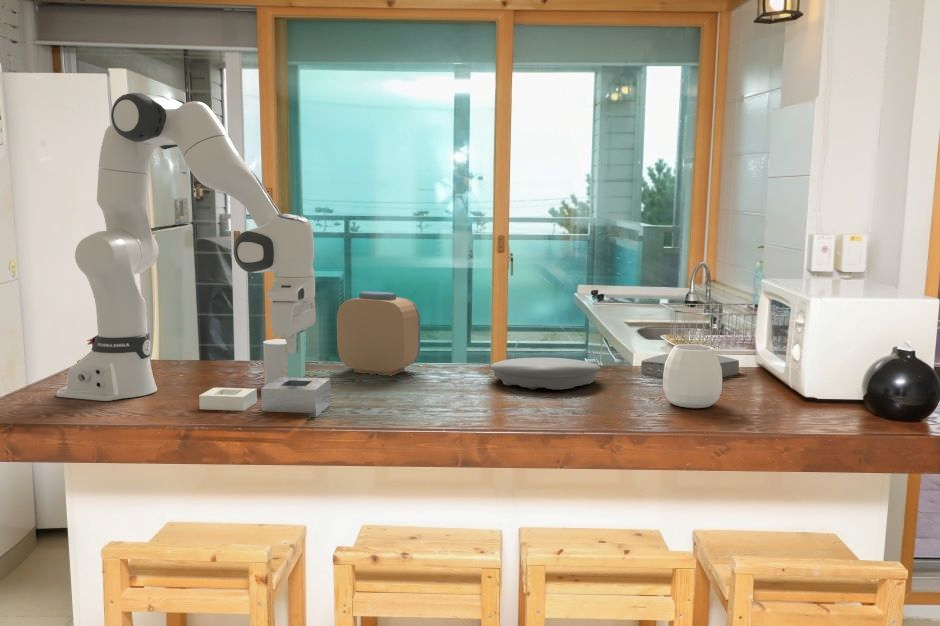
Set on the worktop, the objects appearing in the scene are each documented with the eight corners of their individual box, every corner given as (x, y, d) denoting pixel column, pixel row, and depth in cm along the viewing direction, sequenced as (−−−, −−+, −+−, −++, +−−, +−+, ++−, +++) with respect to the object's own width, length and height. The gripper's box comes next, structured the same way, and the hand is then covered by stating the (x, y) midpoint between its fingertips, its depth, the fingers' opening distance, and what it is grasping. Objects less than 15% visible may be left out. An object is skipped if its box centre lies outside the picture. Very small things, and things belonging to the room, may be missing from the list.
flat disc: (623, 386, 217) (623, 369, 217) (536, 400, 202) (536, 381, 201) (552, 370, 240) (552, 354, 240) (469, 381, 225) (469, 364, 224)
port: (261, 415, 186) (261, 388, 185) (280, 402, 198) (279, 376, 197) (315, 417, 185) (315, 389, 184) (331, 404, 197) (330, 378, 196)
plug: (288, 377, 189) (287, 332, 188) (292, 374, 192) (291, 330, 191) (301, 377, 189) (300, 332, 188) (305, 375, 192) (304, 330, 191)
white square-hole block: (199, 413, 188) (199, 395, 187) (214, 404, 196) (213, 387, 195) (244, 414, 187) (243, 396, 186) (257, 406, 195) (256, 388, 194)
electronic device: (634, 374, 235) (634, 356, 234) (681, 364, 249) (681, 347, 248) (694, 385, 220) (694, 366, 220) (740, 374, 234) (741, 356, 234)
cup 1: (290, 394, 207) (289, 344, 205) (259, 392, 208) (257, 343, 207) (303, 387, 214) (302, 339, 213) (273, 385, 216) (271, 338, 215)
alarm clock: (421, 371, 234) (421, 292, 231) (404, 378, 225) (404, 296, 223) (356, 365, 242) (355, 289, 240) (337, 371, 234) (336, 292, 231)
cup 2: (650, 401, 201) (652, 344, 199) (696, 396, 206) (698, 341, 205) (685, 414, 189) (688, 354, 187) (733, 408, 194) (736, 350, 192)
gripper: (295, 284, 199) (296, 343, 200) (264, 293, 178) (266, 359, 180) (322, 284, 198) (323, 343, 200) (294, 294, 178) (295, 360, 180)
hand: (296, 351), depth 190 cm, fingers closed on plug, 3 cm apart
